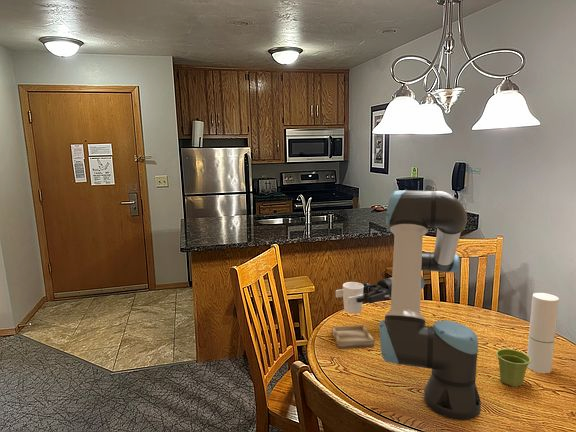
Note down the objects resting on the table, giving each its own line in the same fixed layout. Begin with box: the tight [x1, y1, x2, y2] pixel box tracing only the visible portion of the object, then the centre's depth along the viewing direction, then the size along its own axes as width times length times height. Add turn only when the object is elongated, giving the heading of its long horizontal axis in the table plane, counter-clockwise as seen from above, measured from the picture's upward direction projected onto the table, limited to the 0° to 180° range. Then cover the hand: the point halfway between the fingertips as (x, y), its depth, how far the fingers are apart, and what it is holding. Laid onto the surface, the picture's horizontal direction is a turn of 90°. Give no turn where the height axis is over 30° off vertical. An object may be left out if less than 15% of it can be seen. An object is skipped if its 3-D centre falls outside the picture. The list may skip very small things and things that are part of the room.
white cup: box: [342, 281, 364, 315], centre depth 152 cm, size 8×8×10 cm
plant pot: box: [495, 348, 531, 388], centre depth 124 cm, size 9×9×9 cm
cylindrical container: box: [526, 292, 560, 374], centre depth 130 cm, size 7×7×25 cm
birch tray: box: [331, 324, 375, 350], centre depth 154 cm, size 13×13×2 cm
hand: (342, 297), depth 149 cm, fingers closed on white cup, 8 cm apart
